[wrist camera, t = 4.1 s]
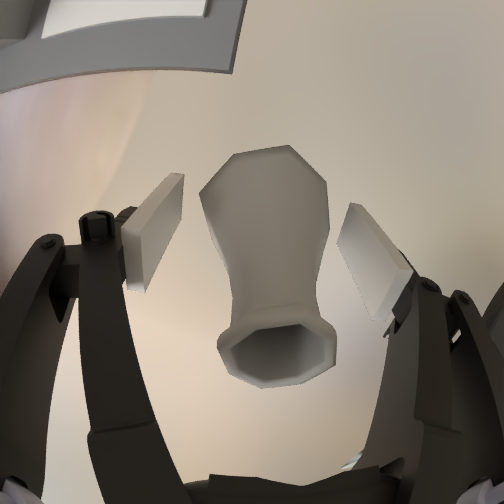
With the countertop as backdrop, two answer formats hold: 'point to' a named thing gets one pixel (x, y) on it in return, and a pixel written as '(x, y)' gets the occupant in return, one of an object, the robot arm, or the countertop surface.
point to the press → (115, 37)
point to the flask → (271, 265)
